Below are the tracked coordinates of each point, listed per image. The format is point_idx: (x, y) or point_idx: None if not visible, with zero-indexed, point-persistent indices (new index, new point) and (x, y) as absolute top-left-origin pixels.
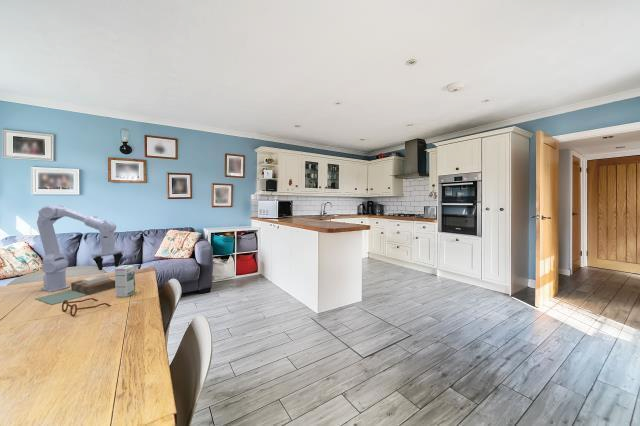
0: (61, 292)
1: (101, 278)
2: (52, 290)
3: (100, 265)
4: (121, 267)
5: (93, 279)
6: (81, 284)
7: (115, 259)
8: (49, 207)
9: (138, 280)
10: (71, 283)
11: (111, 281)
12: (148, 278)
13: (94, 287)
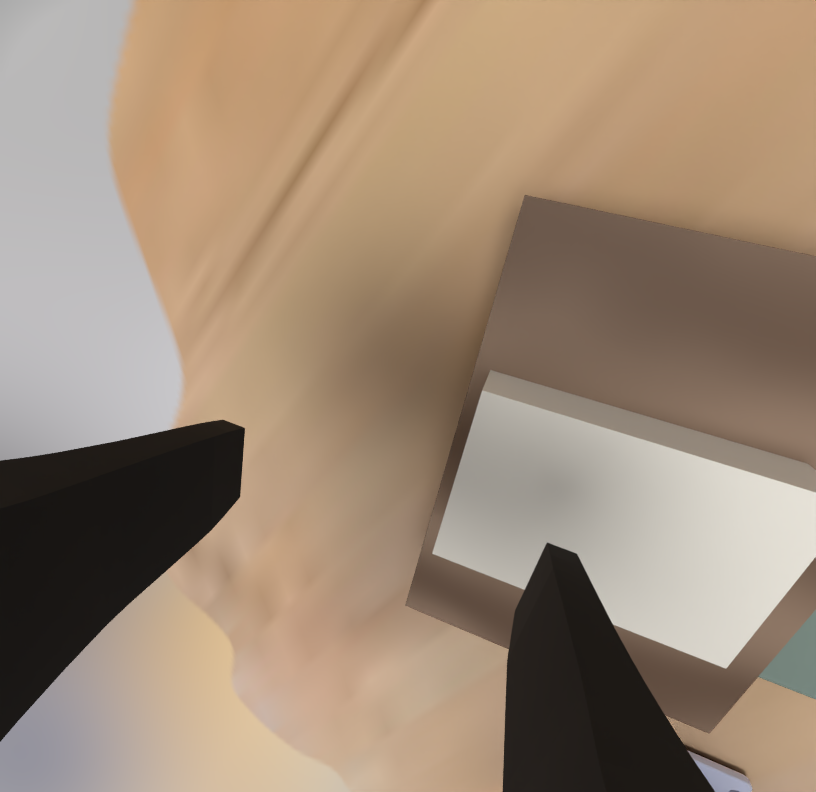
0: (793, 675)
1: (604, 420)
2: (734, 777)
3: (641, 680)
4: None
5: (758, 472)
6: (813, 563)
7: (59, 616)
8: None
9: (213, 192)
10: (711, 717)
11: (590, 210)
12: (119, 136)
13: None
